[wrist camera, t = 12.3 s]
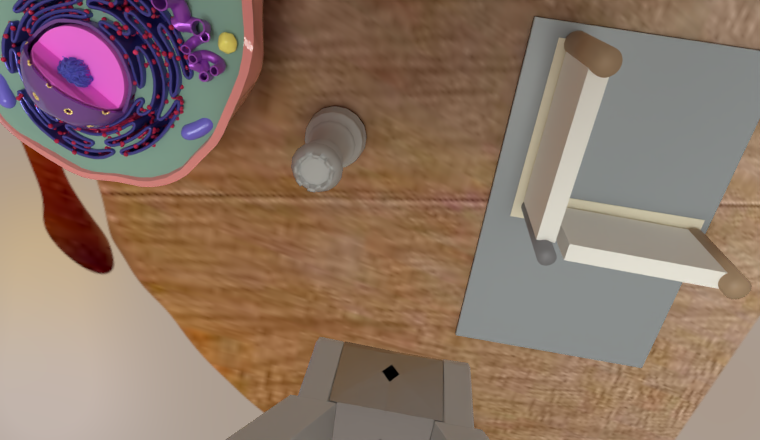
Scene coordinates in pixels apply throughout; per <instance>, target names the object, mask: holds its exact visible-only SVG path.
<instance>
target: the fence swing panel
mask: <svg viewBox="0 0 760 440" xmlns="http://www.w3.org/2000/svg"><path fill="white" fill-rule="evenodd" d="M556 241H557V244H558V246H559V249H560V251H561V254H562V256H563V259H564V260H566V261H571V262H577V263H582V264H588V265H593V266H598V267H604V268H609V269H615V270H620V271H626V272H631V273H636V274H642V275H647V276H653V277H658V278H664V279H669V280H675V281H680V282H685V283H691V284H696V285H702V286H707V287H713V288H718V289H720V290H721V291H722V293H723V294H724V295H725V296H726V297H727V298H729V299H740V298H743V297H745V296H746V295H747V294H748V293H749V292H750V291H751V287H752V285H751V283H750V281H749V280H748V279H747V278H746V277H745V276H744V275H743V274H742V273H741V272H740V271H739V270H738V269H737V268H736V266H735V265H734V264H733V263H732V262H731V261H730V260H729V259H728V258H727V257H726V256H725V255H724V254H723V253H722V252H721V251H720V250H719V249H718V248H717V246H716V245H715V244H714V243H713V242H712V241H711V240H710V239H709V238H708V237H707V236H706V235H705V234H704V233H703V232H702V231H701V230H700V229H697V228H692V229H683V228H677V227H672V226H666V225H660V224H655V223H649V222H644V221H638V220H633V219H627V218H622V217H616V216H611V215H605V214H600V213H594V212H589V211H583V210H577V209H572V208H566V211H565V214H564V217H563V220H562V223H561V226H560V229H559V232H558V235H557V238H556Z"/></svg>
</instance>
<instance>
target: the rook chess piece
mask: <svg viewBox="0 0 760 440" xmlns="http://www.w3.org/2000/svg"><path fill="white" fill-rule="evenodd" d="M366 138H367V137H366V132H365V128H364V125H363V123H362V122H361V121H360V119H359V118H358V116H357V115H355V114H354V113H352V112H351V111H349V110H348V109H346V108H341V107H336V106H333V107H328V108H323V109H322V110H320V111H319V112H317V113H316V114H314V115H313V117H312V119H311V120H310V122H309V124H308V126H307V128H306V133H305V143H306V144H305V145H303V146H302V147H300V148H299V149H297V151H296V152H295V154H294V156H293V157H292V165H291V168H292V171H293V175H294V177H295V178H296V182H297V183H298V184H299V185H300V186H301V185H302V186H304V187H305V188H307V189H308V190H307V191H311V192H315V191H317V192H321V191H328V190H330V189H331V188H333V187H335V186H336V185H337V184H338V182H339V181H340V179H341V177H342V171H343V167H347V166H348V165H350V164H351V163H353V162H355V161H356V160H357V158H358V157H359V156H360V154H361V153H362V151H363V150H364V148H365V143H366Z"/></svg>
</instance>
